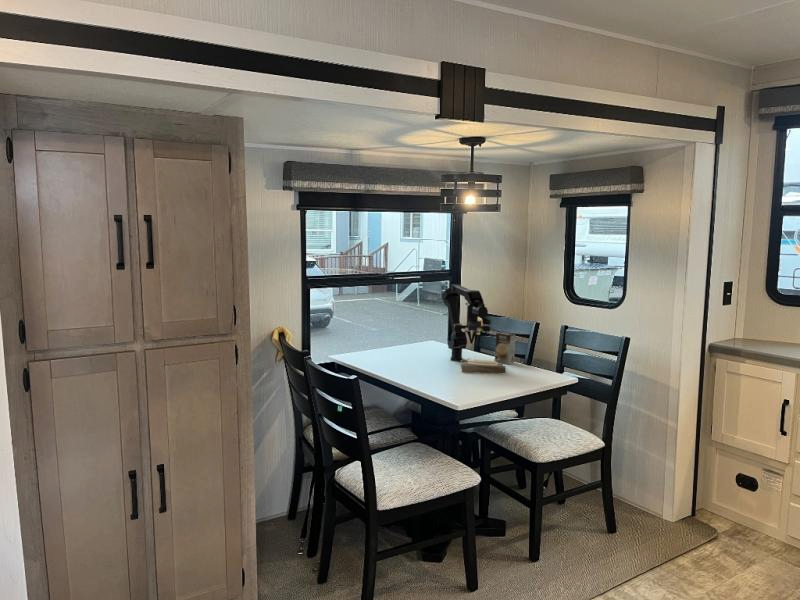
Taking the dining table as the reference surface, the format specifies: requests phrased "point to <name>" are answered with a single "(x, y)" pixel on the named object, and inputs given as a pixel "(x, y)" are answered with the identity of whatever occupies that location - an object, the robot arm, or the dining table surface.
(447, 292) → the robot arm
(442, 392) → the dining table surface
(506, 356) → the coffee box
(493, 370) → the floor board
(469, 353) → the dining table surface
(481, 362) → the tan rectangular panel
